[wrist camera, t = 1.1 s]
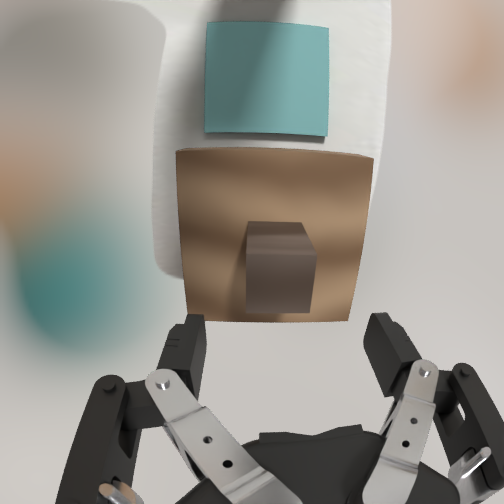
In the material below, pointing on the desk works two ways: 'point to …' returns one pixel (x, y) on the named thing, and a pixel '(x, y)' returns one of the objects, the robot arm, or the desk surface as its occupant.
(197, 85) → the desk surface
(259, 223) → the walnut cover
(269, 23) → the teal mat
